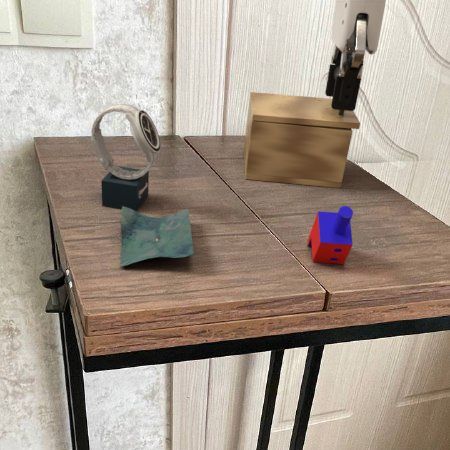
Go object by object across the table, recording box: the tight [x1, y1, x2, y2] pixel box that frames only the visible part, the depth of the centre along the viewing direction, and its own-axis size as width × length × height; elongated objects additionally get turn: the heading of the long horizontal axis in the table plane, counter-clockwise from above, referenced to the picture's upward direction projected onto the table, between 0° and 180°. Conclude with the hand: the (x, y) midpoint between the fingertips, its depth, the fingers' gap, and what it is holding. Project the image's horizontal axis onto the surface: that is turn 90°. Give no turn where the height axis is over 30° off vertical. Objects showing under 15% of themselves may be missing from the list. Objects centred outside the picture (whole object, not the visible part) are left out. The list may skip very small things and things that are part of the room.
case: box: [243, 98, 353, 189], centre depth 90 cm, size 14×12×8 cm
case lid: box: [249, 66, 361, 130], centre depth 86 cm, size 14×12×6 cm
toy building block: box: [306, 205, 354, 265], centre depth 69 cm, size 4×4×8 cm
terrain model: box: [119, 206, 195, 267], centre depth 70 cm, size 13×8×2 cm, turn 5°
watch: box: [90, 103, 162, 212], centre depth 75 cm, size 6×8×11 cm
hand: (339, 101), depth 87 cm, fingers closed on case lid, 6 cm apart
